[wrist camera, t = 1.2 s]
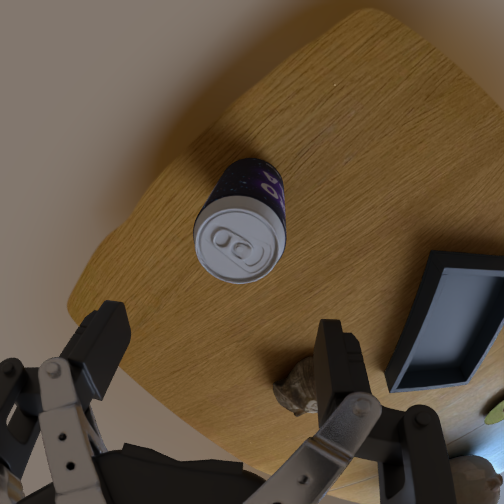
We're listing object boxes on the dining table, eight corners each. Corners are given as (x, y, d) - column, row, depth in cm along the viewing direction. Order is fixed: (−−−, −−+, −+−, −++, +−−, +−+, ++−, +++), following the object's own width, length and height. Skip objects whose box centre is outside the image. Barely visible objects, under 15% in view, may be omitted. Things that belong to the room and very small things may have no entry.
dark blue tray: (430, 249, 30) (444, 267, 27) (513, 256, 30) (528, 271, 27) (383, 373, 40) (389, 393, 37) (459, 367, 39) (467, 384, 36)
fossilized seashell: (293, 416, 42) (353, 382, 40) (285, 438, 35) (354, 401, 33) (264, 376, 43) (324, 339, 41) (251, 393, 37) (320, 352, 35)
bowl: (413, 490, 69) (421, 541, 52) (387, 473, 59) (395, 541, 42) (491, 454, 60) (506, 505, 42) (487, 427, 50) (509, 495, 32)
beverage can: (261, 225, 31) (252, 303, 20) (209, 194, 30) (172, 259, 19) (295, 177, 28) (307, 236, 18) (241, 143, 27) (217, 181, 17)
